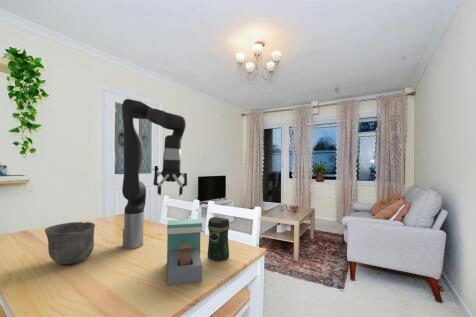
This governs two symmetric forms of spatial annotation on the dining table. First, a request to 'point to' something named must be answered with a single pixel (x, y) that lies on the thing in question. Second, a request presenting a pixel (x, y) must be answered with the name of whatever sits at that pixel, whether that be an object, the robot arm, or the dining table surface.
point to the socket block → (184, 268)
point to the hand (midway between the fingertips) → (169, 195)
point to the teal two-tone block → (183, 234)
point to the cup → (70, 241)
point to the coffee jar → (218, 239)
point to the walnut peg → (185, 255)
